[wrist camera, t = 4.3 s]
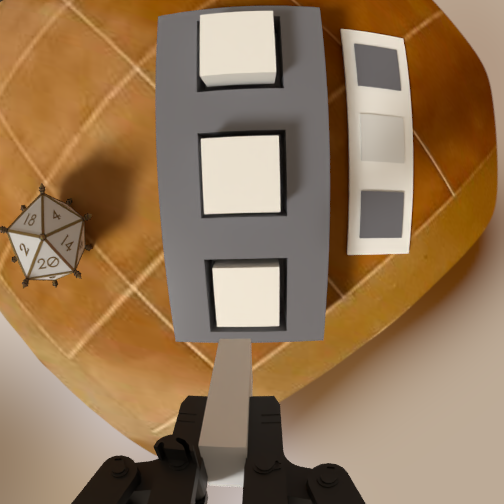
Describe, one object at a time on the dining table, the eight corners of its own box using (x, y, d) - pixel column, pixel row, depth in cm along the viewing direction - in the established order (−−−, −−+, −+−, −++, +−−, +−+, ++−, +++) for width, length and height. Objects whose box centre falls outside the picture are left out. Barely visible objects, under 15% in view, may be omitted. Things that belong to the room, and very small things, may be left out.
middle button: (208, 142, 21) (200, 138, 18) (276, 139, 21) (278, 135, 18) (211, 207, 23) (204, 214, 20) (277, 205, 22) (280, 212, 20)
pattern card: (340, 29, 21) (341, 27, 20) (402, 39, 21) (404, 37, 20) (346, 253, 26) (348, 255, 26) (407, 252, 26) (409, 254, 26)
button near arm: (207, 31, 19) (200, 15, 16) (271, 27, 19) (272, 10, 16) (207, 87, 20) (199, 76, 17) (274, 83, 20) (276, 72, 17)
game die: (98, 208, 30) (110, 191, 21) (85, 289, 29) (91, 305, 20) (21, 191, 25) (3, 167, 16) (7, 274, 24) (-19, 285, 16)
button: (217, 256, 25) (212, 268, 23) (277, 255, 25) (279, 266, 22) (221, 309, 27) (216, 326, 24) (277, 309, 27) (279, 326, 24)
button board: (171, 34, 21) (158, 16, 18) (311, 27, 21) (319, 7, 17) (185, 319, 28) (175, 341, 25) (315, 317, 28) (323, 340, 24)
